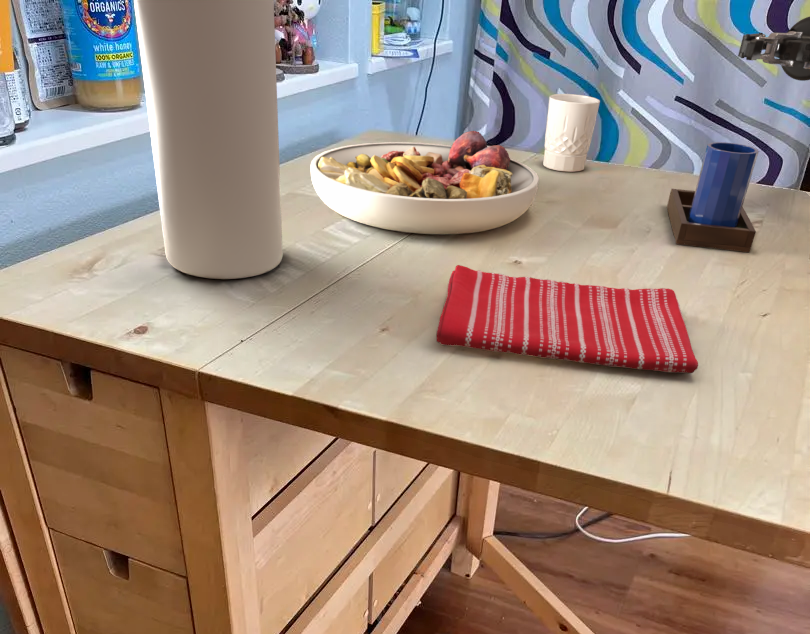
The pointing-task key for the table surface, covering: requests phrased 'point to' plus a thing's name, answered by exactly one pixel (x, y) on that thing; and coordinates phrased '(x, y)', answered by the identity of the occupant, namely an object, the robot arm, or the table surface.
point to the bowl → (425, 185)
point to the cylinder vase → (214, 132)
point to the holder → (707, 227)
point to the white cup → (569, 131)
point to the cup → (722, 184)
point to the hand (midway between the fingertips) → (785, 54)
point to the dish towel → (566, 321)
